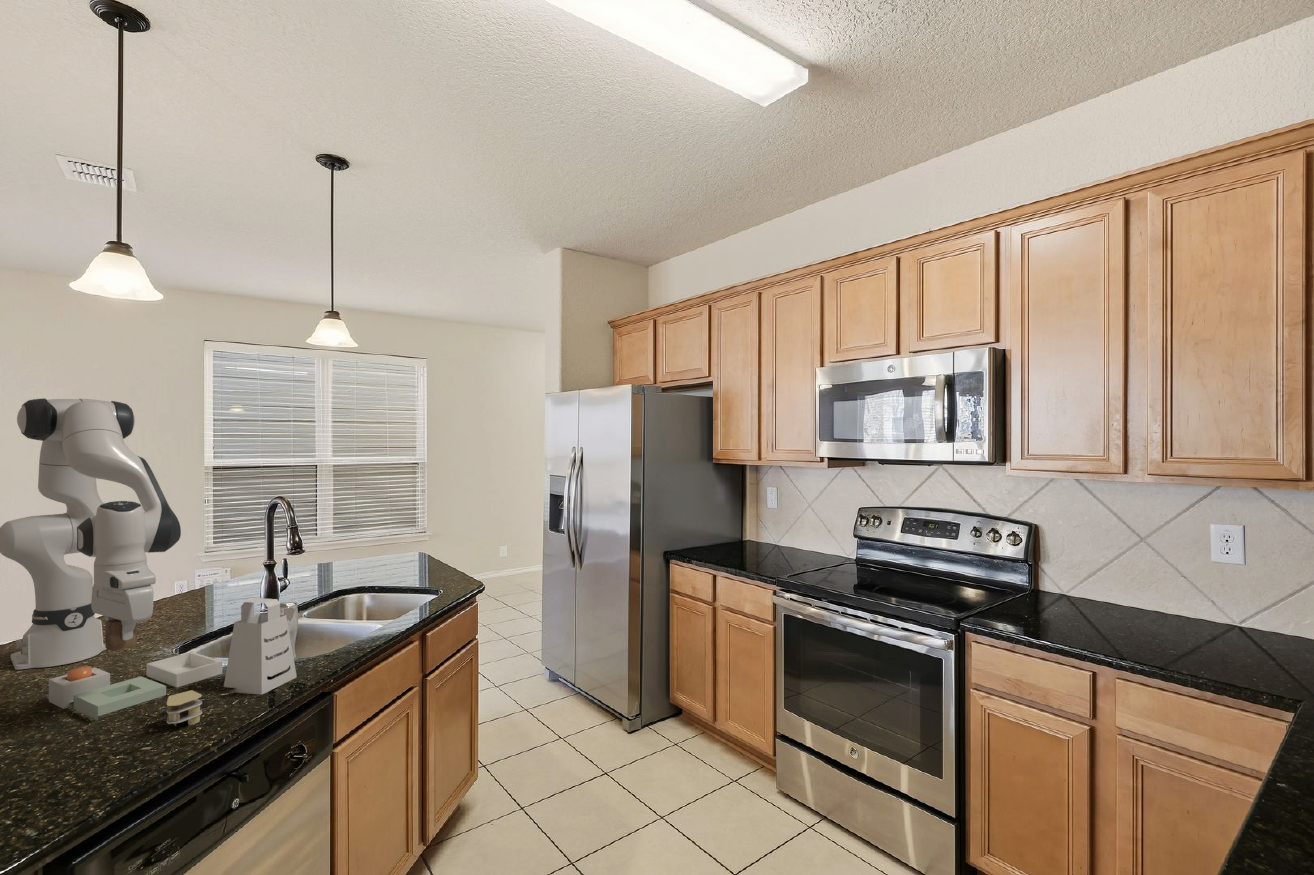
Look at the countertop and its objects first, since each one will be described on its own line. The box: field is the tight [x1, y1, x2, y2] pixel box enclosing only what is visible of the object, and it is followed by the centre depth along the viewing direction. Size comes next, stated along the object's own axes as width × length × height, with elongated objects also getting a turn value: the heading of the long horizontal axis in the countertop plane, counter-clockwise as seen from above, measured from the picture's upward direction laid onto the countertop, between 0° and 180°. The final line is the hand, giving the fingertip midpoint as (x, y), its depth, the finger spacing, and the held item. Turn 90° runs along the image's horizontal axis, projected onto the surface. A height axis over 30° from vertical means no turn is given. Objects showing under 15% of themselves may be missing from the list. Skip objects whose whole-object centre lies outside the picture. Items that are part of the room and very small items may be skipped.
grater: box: [223, 597, 298, 696], centre depth 146 cm, size 10×10×20 cm
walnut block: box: [104, 619, 137, 652], centre depth 135 cm, size 4×4×6 cm
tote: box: [146, 651, 223, 688], centre depth 149 cm, size 15×10×4 cm, turn 62°
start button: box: [67, 665, 93, 682], centre depth 138 cm, size 4×4×3 cm
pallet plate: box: [73, 675, 167, 722], centre depth 135 cm, size 12×12×3 cm
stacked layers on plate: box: [166, 689, 203, 727], centre depth 126 cm, size 10×9×6 cm
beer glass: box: [266, 601, 299, 660], centre depth 160 cm, size 7×7×15 cm
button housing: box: [48, 667, 111, 710], centre depth 138 cm, size 8×8×5 cm
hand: (120, 637), depth 135 cm, fingers closed on walnut block, 4 cm apart
